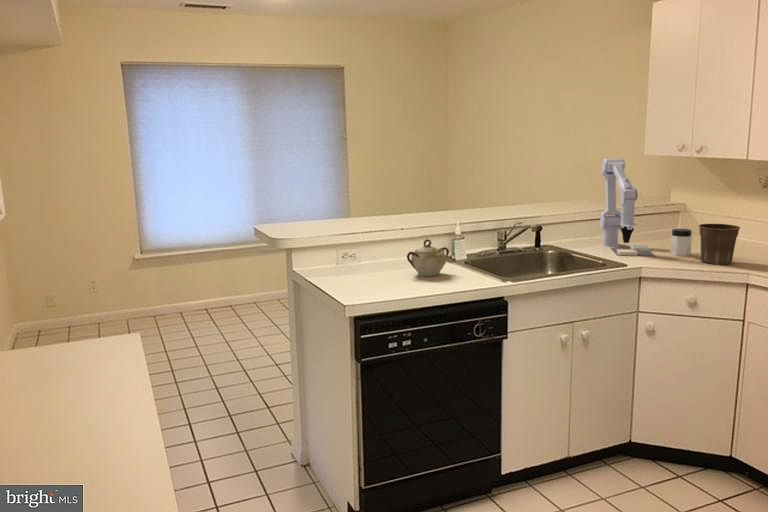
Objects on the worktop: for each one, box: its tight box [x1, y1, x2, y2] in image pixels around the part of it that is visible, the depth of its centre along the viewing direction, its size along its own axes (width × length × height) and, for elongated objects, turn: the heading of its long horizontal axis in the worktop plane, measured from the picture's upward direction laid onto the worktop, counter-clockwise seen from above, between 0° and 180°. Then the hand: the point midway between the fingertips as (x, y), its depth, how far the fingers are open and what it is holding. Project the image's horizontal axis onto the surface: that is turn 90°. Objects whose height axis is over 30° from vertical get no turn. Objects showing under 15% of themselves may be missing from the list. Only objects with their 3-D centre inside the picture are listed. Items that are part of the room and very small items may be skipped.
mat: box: [610, 247, 657, 258], centre depth 306 cm, size 22×17×1 cm
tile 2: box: [629, 245, 651, 252], centre depth 311 cm, size 7×8×2 cm
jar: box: [669, 228, 693, 257], centre depth 298 cm, size 9×8×12 cm
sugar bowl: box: [406, 238, 450, 277], centre depth 267 cm, size 20×15×15 cm
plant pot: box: [698, 223, 741, 265], centre depth 280 cm, size 16×16×16 cm
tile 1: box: [617, 249, 639, 257], centre depth 301 cm, size 2×8×7 cm
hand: (626, 242), depth 303 cm, fingers closed
